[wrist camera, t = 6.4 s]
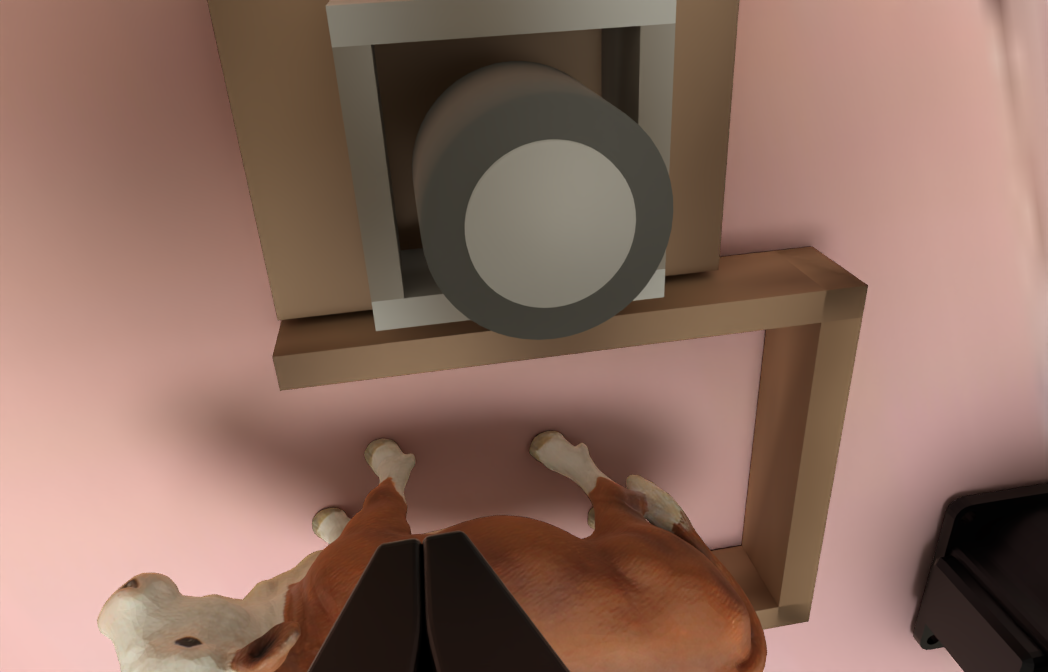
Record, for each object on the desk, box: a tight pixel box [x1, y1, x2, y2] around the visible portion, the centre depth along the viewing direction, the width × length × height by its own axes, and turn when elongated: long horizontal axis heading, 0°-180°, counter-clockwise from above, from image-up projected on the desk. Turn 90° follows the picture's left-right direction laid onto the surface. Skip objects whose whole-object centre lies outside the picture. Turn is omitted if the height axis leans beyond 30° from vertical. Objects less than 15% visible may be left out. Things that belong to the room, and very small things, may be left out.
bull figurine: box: [97, 431, 767, 672], centre depth 17 cm, size 4×13×8 cm, turn 79°
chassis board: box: [207, 0, 868, 629], centre depth 18 cm, size 13×18×4 cm
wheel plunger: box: [412, 61, 673, 340], centre depth 12 cm, size 4×4×3 cm
